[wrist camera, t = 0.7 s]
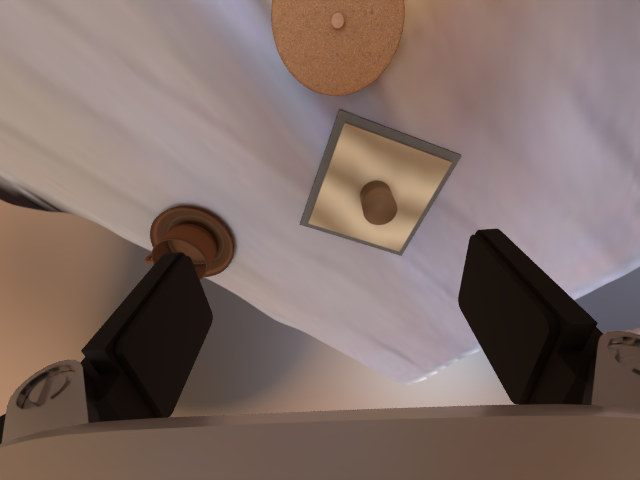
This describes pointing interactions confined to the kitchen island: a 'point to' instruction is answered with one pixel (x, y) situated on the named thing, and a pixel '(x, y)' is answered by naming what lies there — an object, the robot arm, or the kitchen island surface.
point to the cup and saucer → (192, 239)
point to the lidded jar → (337, 41)
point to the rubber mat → (387, 133)
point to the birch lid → (376, 187)
